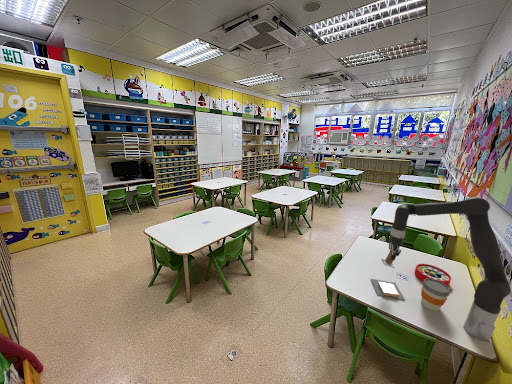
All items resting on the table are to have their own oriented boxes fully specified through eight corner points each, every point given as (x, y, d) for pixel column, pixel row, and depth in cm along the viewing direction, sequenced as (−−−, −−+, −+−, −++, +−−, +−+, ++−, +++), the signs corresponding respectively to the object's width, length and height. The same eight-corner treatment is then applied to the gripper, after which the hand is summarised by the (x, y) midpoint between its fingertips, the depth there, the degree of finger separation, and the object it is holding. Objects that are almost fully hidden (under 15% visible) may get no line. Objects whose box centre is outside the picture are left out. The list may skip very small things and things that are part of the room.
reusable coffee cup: (444, 317, 120) (452, 296, 116) (418, 306, 127) (424, 286, 122) (441, 303, 130) (448, 283, 126) (417, 294, 137) (422, 275, 132)
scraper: (393, 268, 135) (401, 254, 132) (384, 264, 136) (391, 251, 133) (390, 262, 141) (397, 249, 137) (381, 259, 142) (388, 246, 138)
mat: (404, 300, 131) (405, 299, 131) (377, 295, 135) (377, 294, 135) (394, 283, 146) (395, 282, 146) (370, 279, 150) (370, 278, 150)
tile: (392, 286, 142) (398, 297, 133) (378, 284, 144) (383, 295, 135) (393, 284, 141) (399, 294, 132) (378, 281, 143) (383, 292, 134)
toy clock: (410, 262, 162) (439, 265, 159) (408, 268, 163) (437, 271, 160) (426, 279, 143) (458, 283, 140) (424, 286, 145) (456, 290, 141)
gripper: (409, 241, 125) (402, 265, 129) (399, 230, 138) (394, 253, 143) (395, 239, 126) (389, 263, 131) (386, 229, 140) (382, 251, 144)
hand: (391, 258), depth 137 cm, fingers closed on scraper, 3 cm apart
